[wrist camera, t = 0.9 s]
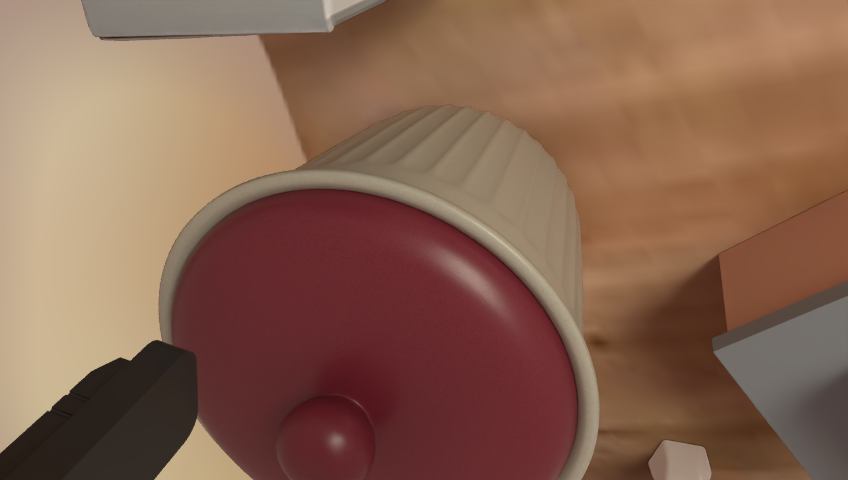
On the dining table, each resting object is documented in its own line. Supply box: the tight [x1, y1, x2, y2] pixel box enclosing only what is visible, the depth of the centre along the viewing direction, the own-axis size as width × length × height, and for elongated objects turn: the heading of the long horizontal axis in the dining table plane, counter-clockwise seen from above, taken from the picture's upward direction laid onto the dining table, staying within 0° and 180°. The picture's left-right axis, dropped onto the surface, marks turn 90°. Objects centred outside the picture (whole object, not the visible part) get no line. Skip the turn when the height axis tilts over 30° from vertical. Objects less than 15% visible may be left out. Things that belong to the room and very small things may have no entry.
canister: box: [159, 105, 600, 480], centre depth 32 cm, size 18×18×21 cm
